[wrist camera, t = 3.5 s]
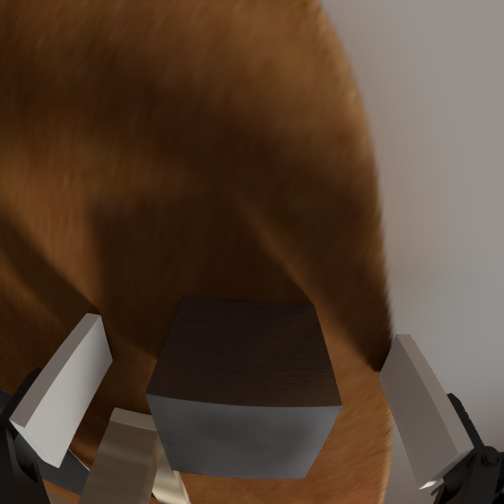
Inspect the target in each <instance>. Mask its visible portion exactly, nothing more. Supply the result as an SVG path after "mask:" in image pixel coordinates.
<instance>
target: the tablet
mask: <svg viewBox="0 0 504 504" xmlns="http://www.w3.org/2000/svg"><path fill="white" fill-rule="evenodd" d="M12 396H13V394H10V393H8V392H6V391H3V390H1V389H0V414H1V413H2V411H3V410H4V408H5V407H6V405H7V404H8V402H9V401H10V399H11V398H12ZM35 459H36V461H37V464H38V467H39V471H40V474H41V477H42V478H43V479H45V480H47V481H49V482H51V483H53V484H56V485H58V486H60V487H62V488H65V489H67V490H69V491H72V492H74V493H77V494H79V495H81V494H82V491H83V488H84V485H85V483H86V480H87V477H88V475H89V472H90V470H89V469H88V468H87V467H86V466H85V465H84V464H83V463H82V462H81V461H80V460H79V459H78V458H77V457H76V456H75V455H74V454H73V453H72V451H71V450H70V449H69V448H68V449H67V451H66V453H65V456H64V458H63V460H62V462H61V465H60V467H59V468H57V467H55V466H53V465H51V464H49V463H47V462H45V461H43V460H42V459H41V458H40V456H39V455H38V454H36V456H35Z"/></svg>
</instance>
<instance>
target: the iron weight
mask: <svg viewBox="0 0 504 504" xmlns="http://www.w3.org/2000/svg"><path fill="white" fill-rule="evenodd" d="M145 394H146V398H147V401H148V404H149V408H150V411H151V414H152V417H153V420H154V423H155V426H156V429H157V432H158V435H159V438H160V441H161V444H162V446H163V449H164V452H165V454H166V457H167V460H168V462H169V465H170V467H171V470H173V471H179V472H185V473H192V474H199V475H208V476H217V477H229V478H245V479H297V478H305V476H306V475H307V473H308V471H309V470H310V468H311V466H312V464H313V463H314V461H315V459H316V457H317V455H318V454H319V452H320V450H321V448H322V446H323V444H324V442H325V440H326V438H327V436H328V434H329V432H330V430H331V428H332V426H333V424H334V422H335V420H336V418H337V416H338V414H339V412H340V410H341V407H342V402H341V398H340V394H339V391H338V387H337V383H336V379H335V376H334V372H333V368H332V365H331V361H330V358H329V354H328V350H327V347H326V343H325V340H324V337H323V333H322V330H321V326H320V323H319V320H318V316H317V313H316V310H315V306H314V305H303V304H282V303H263V302H247V301H233V300H220V299H207V298H195V297H183V299H182V302H181V304H180V307H179V309H178V312H177V314H176V316H175V319H174V321H173V324H172V326H171V329H170V331H169V334H168V336H167V339H166V341H165V344H164V346H163V349H162V351H161V354H160V356H159V359H158V362H157V364H156V367H155V369H154V372H153V375H152V377H151V380H150V383H149V385H148V388H147V391H146V393H145Z"/></svg>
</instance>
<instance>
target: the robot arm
mask: <svg viewBox="0 0 504 504" xmlns="http://www.w3.org/2000/svg"><path fill="white" fill-rule="evenodd" d="M112 361H113V360H112V356H111V353H110V349H109V346H108V342H107V338H106V335H105V331H104V327H103V323H102V318H101V315H96V314H90V313H86V315H85V316H84V317H83V318H82V320H81V321H80V322H79V323H78V325H77V326H76V327H75V328H74V329H73V331H72V332H71V333H70V335H69V336H68V337H67V338H66V340H65V341H64V342H63V343H62V345H61V346H60V347H59V349H58V350H57V351H56V353H55V354H54V355H53V357H52V358H51V359H50V361H49V362H48V363H47V365H46V366H45V367H44V369H41V368H36V369H35V370H34V371H32V372H31V373H29V374H28V376H27V377H26V378H25V380H24V381H23V382H22V383H23V384H21V385H20V387H19V388H18V391H16V392H15V394H14V395H13V396H12V398H11V399H10V401H9V402H8V404H7V405H6V407H5V408H4V410H3V411H2V413H1V414H0V504H50V501H49V498H48V496H47V493H46V490H45V487H44V484H43V481H42V477H41V474H40V471H39V467H38V464H37V461H36V459H35V456H36V454H38V455H39V456H40V458H41V459H42V460H43V461H45V462H47V463H49V464H51V465H53V466H55V467H57V468H59V467H60V465H61V462H62V460H63V458H64V456H65V453H66V451H67V449H68V447H69V445H70V443H71V441H72V438H73V436H74V434H75V432H76V430H77V428H78V426H79V424H80V422H81V420H82V418H83V416H84V414H85V412H86V410H87V408H88V406H89V404H90V402H91V400H92V398H93V396H94V394H95V392H96V391H97V389H98V387H99V385H100V383H101V381H102V379H103V377H104V376H105V374H106V372H107V370H108V368H109V366H110V365H111V363H112ZM378 379H379V381H380V384H381V386H382V389H383V391H384V394H385V396H386V399H387V401H388V404H389V406H390V409H391V411H392V414H393V417H394V419H395V422H396V425H397V427H398V430H399V432H400V435H401V438H402V441H403V444H404V446H405V449H406V452H407V455H408V458H409V461H410V464H411V467H412V470H413V473H414V476H415V479H416V482H417V485H418V489H422V488H425V487H428V486H431V485H434V484H435V483H436V482H438V481H439V480H440V479H441V478H442V477H443V480H444V483H443V484H441V485H440V486H439V487H438V488H436V489H435V490H434V491H433V492H432V493H431V495H432V496H433V495H434V494H435V493H437V492H438V491H439V492H438V494H437V496H436V499H435V501H434V504H504V491H503V488H504V452H498V451H497V450H496V449H495V448H493V447H491V446H484V444H483V443H482V440H481V439H480V437H479V435H478V433H477V431H476V429H475V427H474V425H473V423H472V421H471V420H470V419H469V416H468V414H467V412H465V409H464V407H463V405H462V403H461V402H460V400H459V399H458V398H457V397H455V396H454V395H453V394H452V393H450V394H446V393H445V391H444V389H443V388H442V386H441V384H440V382H439V381H438V379H437V377H436V376H435V374H434V372H433V371H432V369H431V367H430V365H429V364H428V362H427V361H426V359H425V357H424V356H423V354H422V353H421V351H420V349H419V348H418V346H417V345H416V343H415V341H414V340H413V339H412V337H411V335H410V334H407V335H406V334H405V335H396V337H395V339H394V342H393V344H392V347H391V349H390V352H389V354H388V356H387V359H386V361H385V363H384V366H383V368H382V370H381V372H380V375H379V377H378Z"/></svg>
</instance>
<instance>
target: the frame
mask: <svg viewBox="0 0 504 504" xmlns="http://www.w3.org/2000/svg"><path fill="white" fill-rule="evenodd" d="M151 493H153V494H154V495H155V497H156V498H157V500H158V501H159V502H160V504H191V502H190V500H189V497H188V495H187V492H186V490H185V487H184V484H183V482H182V479H181V476H180V474H179V471H173V470H171V467H170V465H169V462H168V460H167V457H166V454H165V452H164V449H163V446H162V444H161V441H160V438H159V435H158V432H157V429H156V426H155V423H154V420H153V417H152V415H147V414H142V413H137V412H133V411H128V410H124V409H120V408H116V407H115V408H114V410H113V412H112V415H111V417H110V422H109V424H108V426H107V429H106V431H105V434H104V436H103V439H102V441H101V443H100V446H99V449H98V451H97V454H96V456H95V459H94V461H93V464H92V467H91V469H90V472H89V475H88V477H87V480H86V483H85V485H84V488H83V491H82V494H81V497H80V500H79V503H78V504H149V502H150V498H151Z"/></svg>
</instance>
